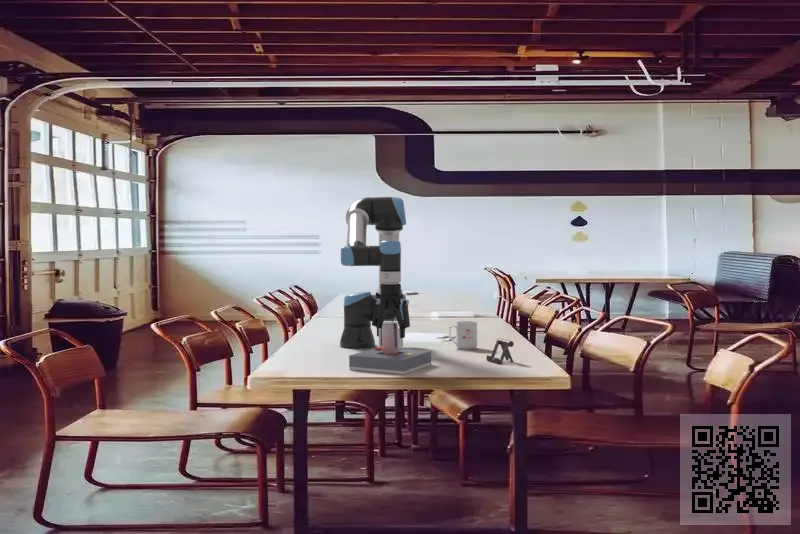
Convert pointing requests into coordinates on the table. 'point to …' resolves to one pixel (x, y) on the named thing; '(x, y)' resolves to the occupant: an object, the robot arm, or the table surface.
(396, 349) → the beverage can
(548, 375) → the table surface
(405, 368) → the socket
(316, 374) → the table surface
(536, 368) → the table surface
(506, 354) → the portable electronic device stand
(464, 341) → the mug
